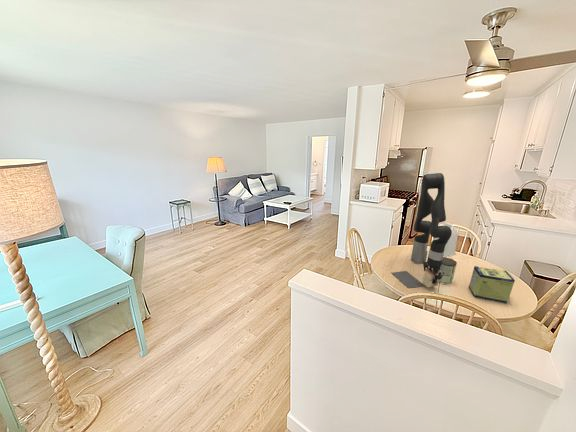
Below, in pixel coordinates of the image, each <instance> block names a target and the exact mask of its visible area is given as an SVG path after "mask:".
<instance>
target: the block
mask: <svg viewBox="0 0 576 432" xmlns="http://www.w3.org/2000/svg"><path fill="white" fill-rule="evenodd" d="M435 274H437V273H435ZM435 277H436V275H435ZM422 279H423V280H422V283H423V284H424V285H425V287H427V288H432V287H438V286H439V283H440V282H439V280H437V283H436V284H433V283H432V281H433V272H432V271H431V270H428V269H425V271H424V275H423V278H422Z"/></svg>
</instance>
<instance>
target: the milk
mask: <svg viewBox="0 0 576 432" xmlns="http://www.w3.org/2000/svg"><path fill="white" fill-rule="evenodd" d="M441 226H448V227H450V228H451V230H452V234H451V237H450V239H449V240H448V242H447V244H446V245H445V249H444V257H446V258H448V257H447V256H449V257H451V256H450V255H452V256H454V254H455V255H456V251H457V250H456V249H457V242H458V235H459V233H458V232H457V230H456V229H455V225H454V224H452V223H448V222H446V221H444V222H443V225H441ZM437 239H439V238H434V239H433V240H437Z"/></svg>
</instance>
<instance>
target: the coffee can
mask: <svg viewBox="0 0 576 432" xmlns="http://www.w3.org/2000/svg"><path fill="white" fill-rule="evenodd" d="M457 263H458V262H457V261H456V260H454V259H453V258H450V257H443V261H442V265H441V267H440V270H441V272H444V275H443V276H442V278H441V279H440V280H439V283H441V284H446V285H447V284H448V285H451V284H452V283H453V279H454V276H455V273H456V272H455V271H456V267H457Z"/></svg>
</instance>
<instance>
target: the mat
mask: <svg viewBox="0 0 576 432" xmlns="http://www.w3.org/2000/svg"><path fill="white" fill-rule="evenodd" d="M391 274H392V276H394V278H396V279H397V280H398V281H399V282H400V283H401V284H402V285H404V286H405V287H406V288H407V289H414V288H421V287H426V285H424V284H423V282H422V281H420V280H419V279H418V278H417V277H415V276H413V275H412V273H410V272H408V271H407V270H403V271H394V272H391Z"/></svg>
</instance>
